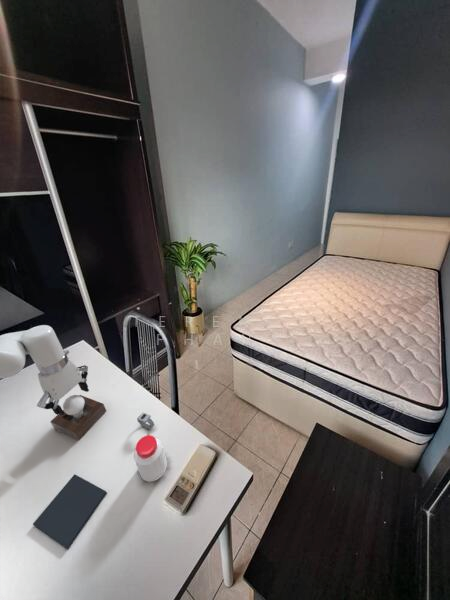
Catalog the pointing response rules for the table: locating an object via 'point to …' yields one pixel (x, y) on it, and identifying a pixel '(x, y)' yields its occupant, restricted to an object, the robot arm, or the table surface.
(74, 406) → the lightbulb
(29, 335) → the robot arm
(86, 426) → the socket block
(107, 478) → the table surface
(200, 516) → the table surface
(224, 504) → the table surface
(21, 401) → the table surface
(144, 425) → the wristwatch
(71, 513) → the mat
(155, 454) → the pill bottle
